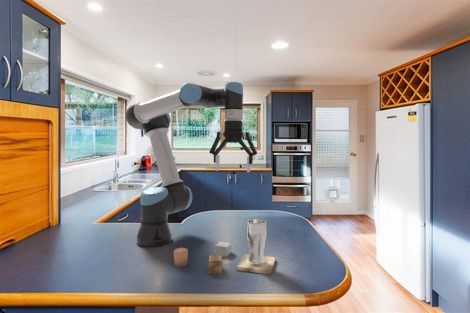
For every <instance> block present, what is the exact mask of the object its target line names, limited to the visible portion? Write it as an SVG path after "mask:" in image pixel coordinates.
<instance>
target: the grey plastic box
mask: <svg viewBox="0 0 470 313" xmlns="http://www.w3.org/2000/svg"><path fill="white" fill-rule="evenodd" d="M232 245H233V244H232V242H227V241H222V240H220V241H219V242H218V243H216V244H215V245H214V256H215V255H222V257H224V256H226V257H225V258H227V257H228V256H230V254H232Z"/></svg>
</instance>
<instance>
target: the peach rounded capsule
mask: <svg viewBox="0 0 470 313" xmlns="http://www.w3.org/2000/svg"><path fill="white" fill-rule="evenodd" d="M188 253H189V250H188V248H185V247H179V248H175V249H174V250H173V266H175V267H185V266H187V265H188V264H189V261H188V260H189V258H188V257H189V256H188V255H189V254H188Z"/></svg>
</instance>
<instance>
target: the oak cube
mask: <svg viewBox="0 0 470 313" xmlns="http://www.w3.org/2000/svg"><path fill="white" fill-rule="evenodd" d="M208 274H210V275H211V274H223V256H222V255H215V254H214V255H209V256H208Z"/></svg>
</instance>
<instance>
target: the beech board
mask: <svg viewBox="0 0 470 313" xmlns="http://www.w3.org/2000/svg"><path fill="white" fill-rule="evenodd" d="M248 258H249V253H244V254H243V256H242V258H241V259H240V260H239V262H238V263H237V265H236V270H237V271H242V272H248V271H249V272H248V273H256V274H264V275H272V271H273V268H274V267H275V266H274V265H275V262H276V257H275V256H268V255H267V256H266V255H264V260H265V262H264V264H262V265H252V264H250V263H249V262H248Z"/></svg>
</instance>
